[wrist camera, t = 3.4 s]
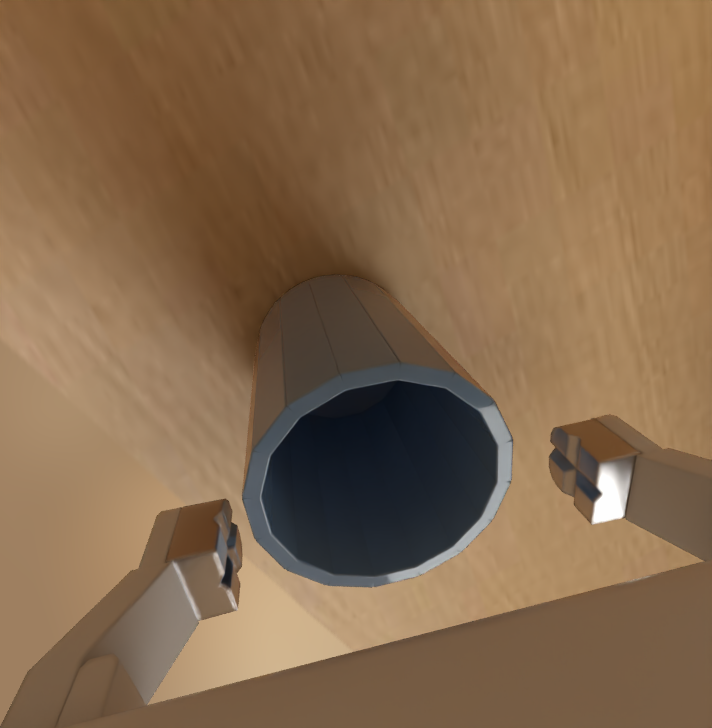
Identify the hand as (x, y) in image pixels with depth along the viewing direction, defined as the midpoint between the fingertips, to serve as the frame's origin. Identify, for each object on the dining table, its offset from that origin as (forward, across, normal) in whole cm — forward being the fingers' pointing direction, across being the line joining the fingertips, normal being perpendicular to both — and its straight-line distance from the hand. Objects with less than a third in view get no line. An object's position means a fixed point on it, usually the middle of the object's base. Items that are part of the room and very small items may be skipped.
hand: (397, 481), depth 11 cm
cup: (+9, 0, 0) cm, 9 cm away
